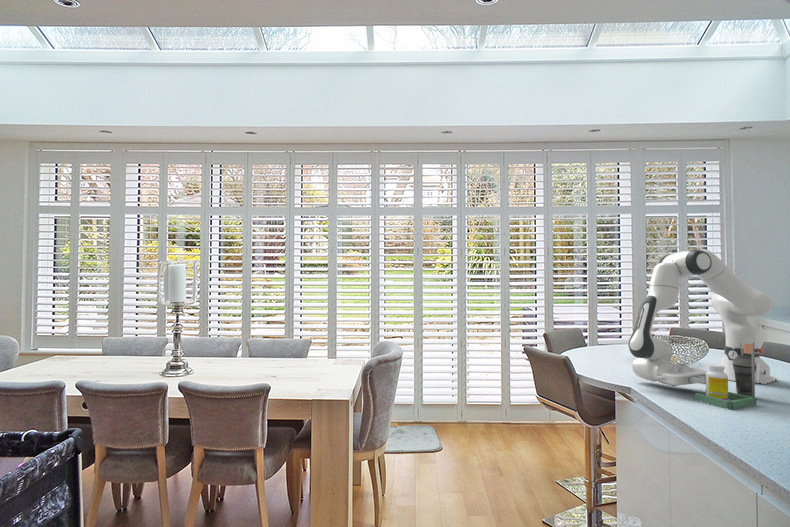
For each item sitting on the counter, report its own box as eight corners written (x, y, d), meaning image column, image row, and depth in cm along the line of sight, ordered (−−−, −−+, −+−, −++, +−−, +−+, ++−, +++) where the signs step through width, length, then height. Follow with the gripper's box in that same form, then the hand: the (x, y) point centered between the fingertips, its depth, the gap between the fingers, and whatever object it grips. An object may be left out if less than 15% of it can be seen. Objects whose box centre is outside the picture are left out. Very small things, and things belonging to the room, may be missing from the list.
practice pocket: (720, 396, 173) (719, 337, 174) (756, 405, 162) (755, 342, 163) (695, 400, 167) (694, 339, 168) (730, 409, 156) (730, 344, 157)
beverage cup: (750, 400, 169) (750, 345, 169) (728, 395, 175) (728, 342, 176) (760, 397, 172) (760, 343, 172) (739, 393, 178) (738, 341, 179)
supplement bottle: (732, 404, 163) (731, 367, 164) (711, 402, 164) (711, 366, 165) (722, 398, 170) (722, 363, 170) (702, 397, 171) (702, 363, 171)
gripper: (653, 368, 179) (688, 375, 166) (688, 364, 187) (724, 371, 174) (653, 384, 179) (688, 392, 166) (688, 380, 187) (724, 388, 174)
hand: (707, 381), depth 170 cm, fingers closed, pressing on supplement bottle
